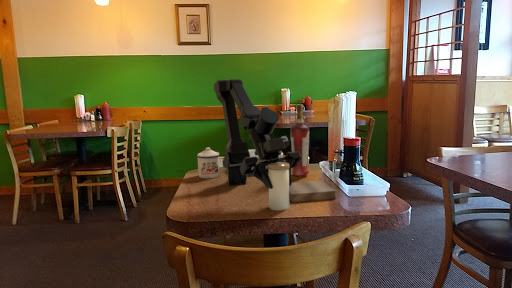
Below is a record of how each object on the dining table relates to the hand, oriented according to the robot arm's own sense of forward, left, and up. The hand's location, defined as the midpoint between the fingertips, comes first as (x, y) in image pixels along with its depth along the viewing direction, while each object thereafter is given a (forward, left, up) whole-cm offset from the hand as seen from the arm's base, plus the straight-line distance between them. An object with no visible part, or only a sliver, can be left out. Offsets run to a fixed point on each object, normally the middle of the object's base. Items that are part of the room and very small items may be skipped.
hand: (281, 186), depth 107 cm
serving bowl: (+4, +54, -7) cm, 55 cm away
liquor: (+17, +36, -7) cm, 41 cm away
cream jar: (0, +1, -7) cm, 7 cm away
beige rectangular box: (+12, +11, -7) cm, 18 cm away
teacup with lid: (-17, +46, -7) cm, 50 cm away
